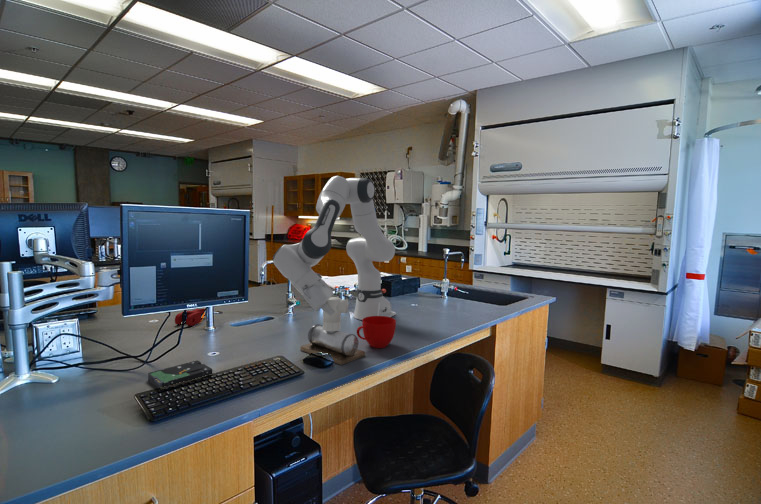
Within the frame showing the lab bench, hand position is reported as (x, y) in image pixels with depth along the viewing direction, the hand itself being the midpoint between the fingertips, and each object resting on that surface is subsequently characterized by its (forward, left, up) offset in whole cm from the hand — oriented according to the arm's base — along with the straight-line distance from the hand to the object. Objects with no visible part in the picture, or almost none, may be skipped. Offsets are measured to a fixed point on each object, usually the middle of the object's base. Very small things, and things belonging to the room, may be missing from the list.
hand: (334, 311), depth 142 cm
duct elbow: (0, 0, -6) cm, 7 cm away
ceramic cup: (-16, +6, -16) cm, 23 cm away
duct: (0, 0, -15) cm, 15 cm away
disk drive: (+46, -18, -16) cm, 52 cm away
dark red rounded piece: (+15, -75, -16) cm, 78 cm away
